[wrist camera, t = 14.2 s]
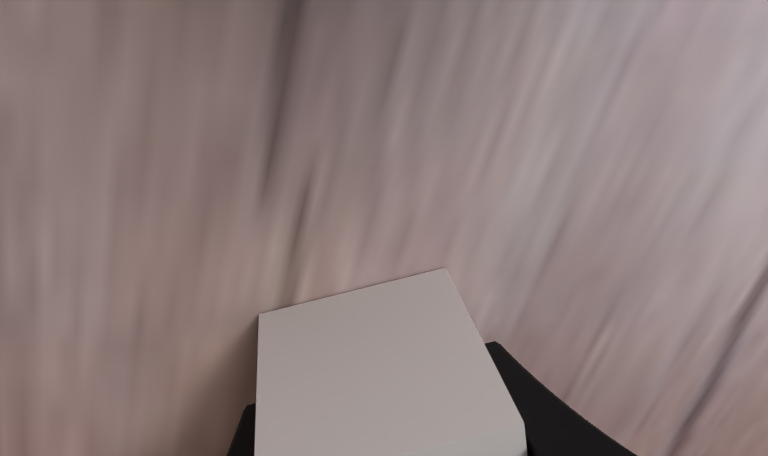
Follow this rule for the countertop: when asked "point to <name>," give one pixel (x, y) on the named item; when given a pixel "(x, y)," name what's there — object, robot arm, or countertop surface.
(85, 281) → the countertop surface
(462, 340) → the plug
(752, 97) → the countertop surface
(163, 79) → the countertop surface
